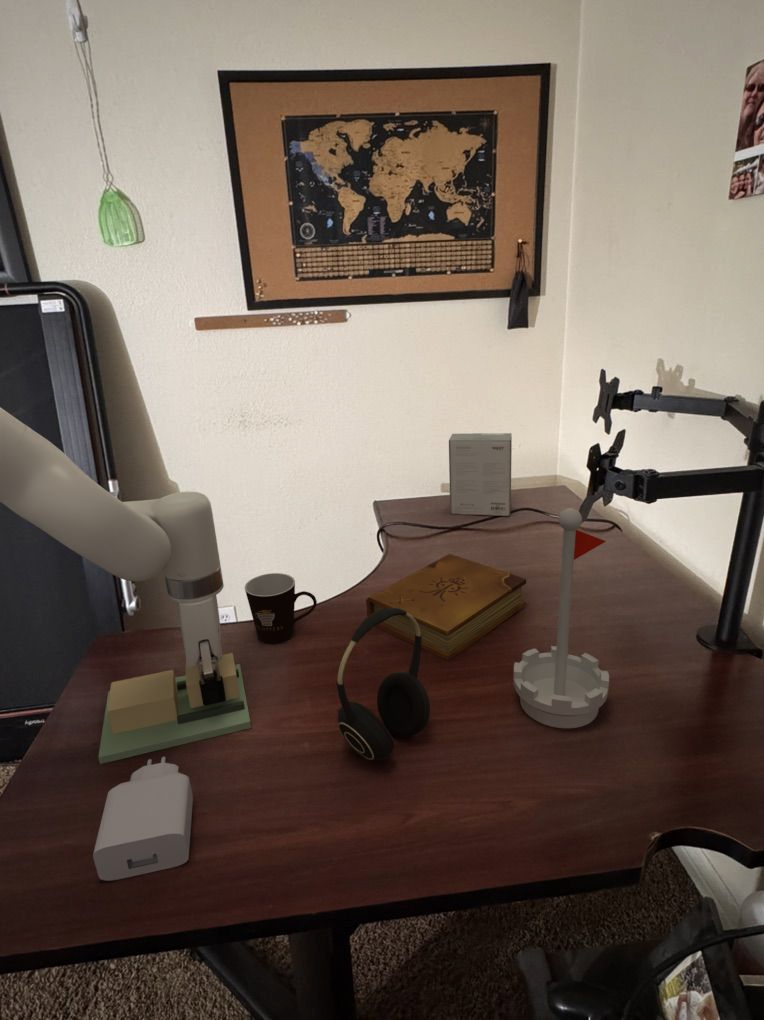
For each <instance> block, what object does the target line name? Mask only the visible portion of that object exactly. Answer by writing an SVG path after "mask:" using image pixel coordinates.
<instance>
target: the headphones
mask: <svg viewBox="0 0 764 1020" xmlns="http://www.w3.org/2000/svg"><path fill="white" fill-rule="evenodd" d="M396 615H403V616H407V617H408V618H410V620H411V621H412V622H413V624H414V626H415V629H416V634H415V644H414V646H413V651H412V657H411V661H410V665H409V669H408V672H404V671H396V672H393V673H390V674H388V675H387V676H386V677H385V678H383V680H382V681H381V683H380V685H379V687H378V688H377V689H378V690H377V694H376V705H377V711H378V715H379V717H380V718H378V716H377V715H375V713H373V712H372V711H371V710H370V709H369V708H368V707H366V706H364V705H363V704H361V703H359V702H356V701H349V699H348V696H347V693H346V687H345V683H344V681H343V676H344V671H345V668H346V664H347V661H348V659H349V656H350V654H351V652H352V650H353V649H354V647H355V645H356V644H357V643H359V642H360V640H361V639H362V638H363V637H364V636H365V635H366V634H367V633H369V632H370V630H372V629H373V628H375V626H376V625H377V624H379V623H381V622H383V621H385V620H387V619H388V618H390V617H392V616H396ZM421 655H422V648H421V633H420V628H419V626H418V623H417V622H416V620H415V619H414V618H413V617H412V616H411V615H410V614H408V613H407V612H406V611H404V610H402V609H399V608H385V609H381V610H379V611H376V612H374V613H372V614H371V615H370V616H368V617H367V616H366V617H365V619H364V620H363V621H362V622H361V623H360V624H359V626H358V627H357V628H356V630H355V631H354V633H353V635H352V636H351V638H350V642H349V643H348V646H347V647H346V649H345V651H344V653H343V656H342V658H341V661H340V664H339V667H338V671H337V681H336V688H337V694H338V698H339V701H340V704H341V707H340V708H339V709H338V712H337V723H338V724H337V726H338V730H339V732H340V734H341V735H342V737H343V738H344V739H345V741H346V742H347V743H348V745H349V746H351V748H352V749H353V750H355V751H356V752H357V754H359V755H361V756H362V757H363V758H365V759H367V760H369V761H370V760H371V761H372V760H374V761H383V760H387V758H388V757H390V756H391V754H393V750H394V748H395V747H394V739H393V737H392V735H393V734H394V735H395V736H398V737H401V738H411V737H415V736H417V735H418V734H420V733H422V731H424V729H425V728H426V726H427V725H428V723H429V719H430V716H431V714H430V713H431V703H430V697H429V695H428V692H427V690H426V687H425V686H424V685H423V683H422V682H421V681H420V680H419V679H418V675H419V669H420V663H421ZM391 733H392V735H391Z"/></svg>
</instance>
